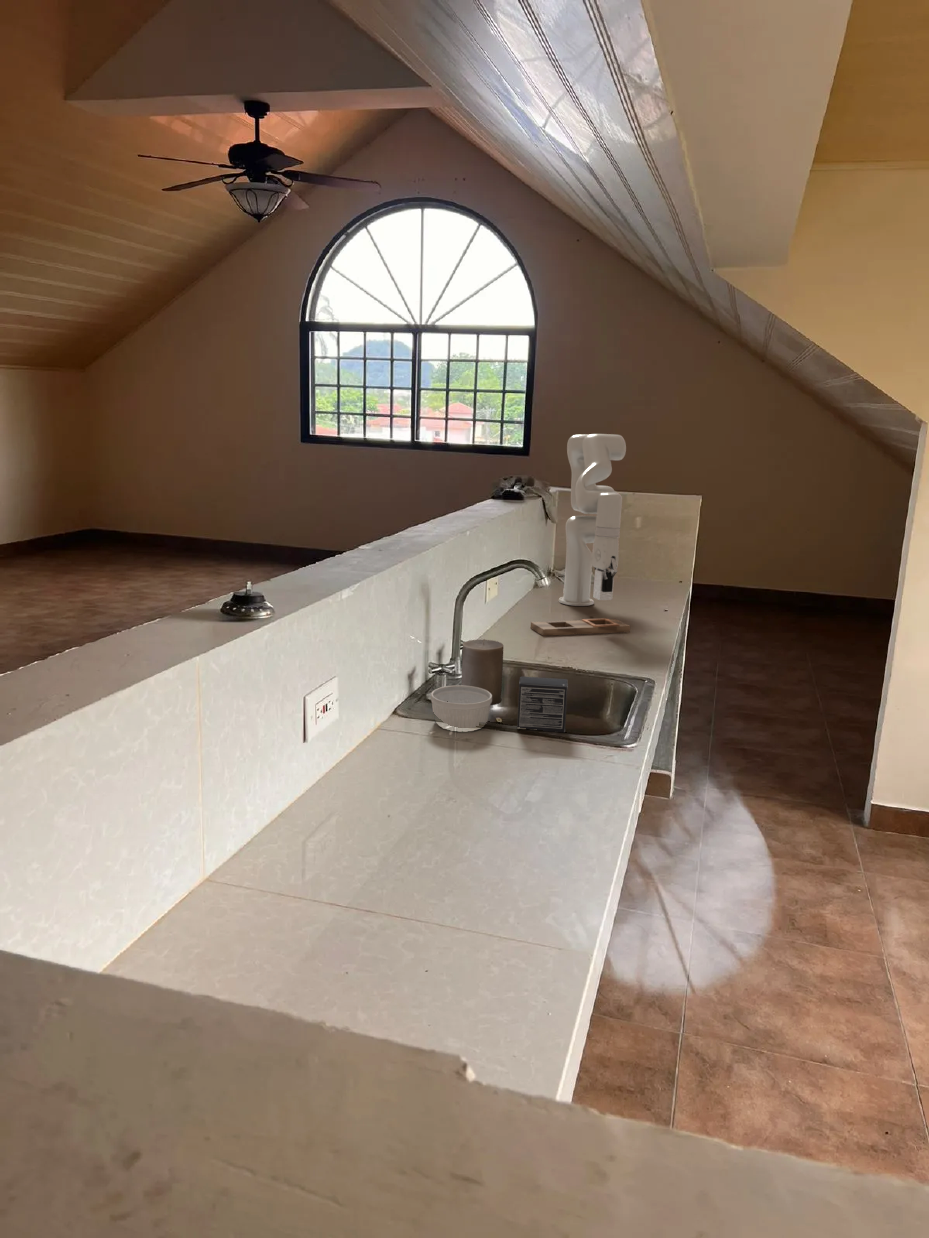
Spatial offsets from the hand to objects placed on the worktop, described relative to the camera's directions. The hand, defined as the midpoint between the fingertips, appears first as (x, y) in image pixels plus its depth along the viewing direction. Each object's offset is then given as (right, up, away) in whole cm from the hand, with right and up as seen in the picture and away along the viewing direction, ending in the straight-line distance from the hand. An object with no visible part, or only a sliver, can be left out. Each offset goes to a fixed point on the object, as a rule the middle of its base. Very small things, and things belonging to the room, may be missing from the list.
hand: (603, 589), depth 286 cm
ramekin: (-45, -32, -89) cm, 105 cm away
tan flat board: (-7, -13, +1) cm, 15 cm away
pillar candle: (-40, -29, -72) cm, 88 cm away
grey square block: (0, -3, +1) cm, 3 cm away
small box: (-27, -33, -89) cm, 98 cm away
